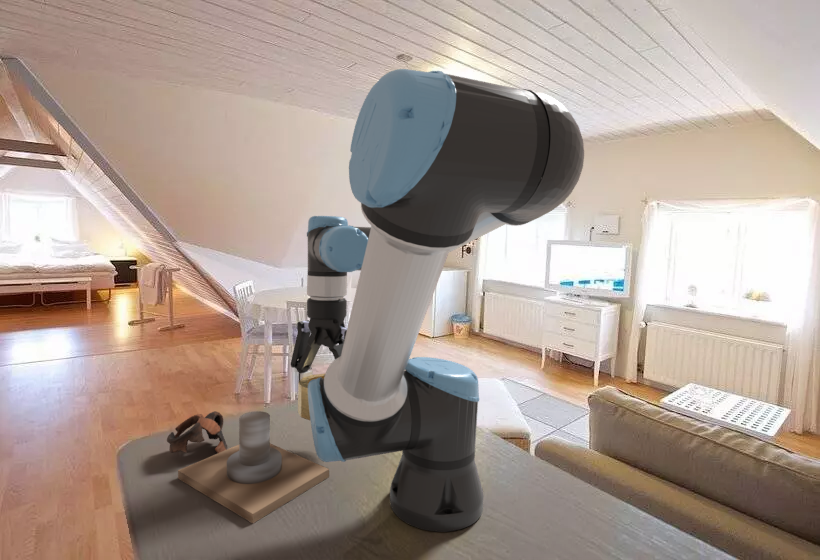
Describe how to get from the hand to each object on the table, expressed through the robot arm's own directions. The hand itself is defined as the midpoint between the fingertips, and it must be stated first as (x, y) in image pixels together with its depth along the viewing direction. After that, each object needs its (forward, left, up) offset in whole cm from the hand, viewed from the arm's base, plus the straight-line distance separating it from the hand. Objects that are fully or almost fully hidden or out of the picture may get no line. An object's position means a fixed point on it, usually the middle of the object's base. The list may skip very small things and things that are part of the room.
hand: (325, 409), depth 89 cm
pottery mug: (+18, +14, -9) cm, 25 cm away
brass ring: (0, 0, 0) cm, 0 cm away
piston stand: (+2, +15, -8) cm, 17 cm away
